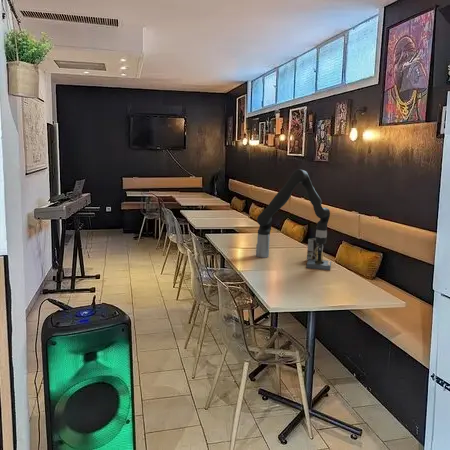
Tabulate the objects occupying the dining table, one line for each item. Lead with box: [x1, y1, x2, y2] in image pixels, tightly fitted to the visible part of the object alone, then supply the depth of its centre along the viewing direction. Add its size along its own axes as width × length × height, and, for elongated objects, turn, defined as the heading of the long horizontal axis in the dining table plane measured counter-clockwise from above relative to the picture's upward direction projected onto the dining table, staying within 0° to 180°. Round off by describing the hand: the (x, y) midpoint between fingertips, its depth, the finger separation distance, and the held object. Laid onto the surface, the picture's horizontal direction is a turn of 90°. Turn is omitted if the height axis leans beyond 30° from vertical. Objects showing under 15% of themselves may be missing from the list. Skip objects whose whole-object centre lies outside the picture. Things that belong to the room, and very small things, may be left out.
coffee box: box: [306, 237, 319, 261], centre depth 342 cm, size 9×6×16 cm
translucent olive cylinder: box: [316, 251, 324, 264], centre depth 323 cm, size 4×4×9 cm
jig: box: [306, 259, 332, 271], centre depth 323 cm, size 16×16×4 cm
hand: (319, 259), depth 323 cm, fingers closed on translucent olive cylinder, 4 cm apart
